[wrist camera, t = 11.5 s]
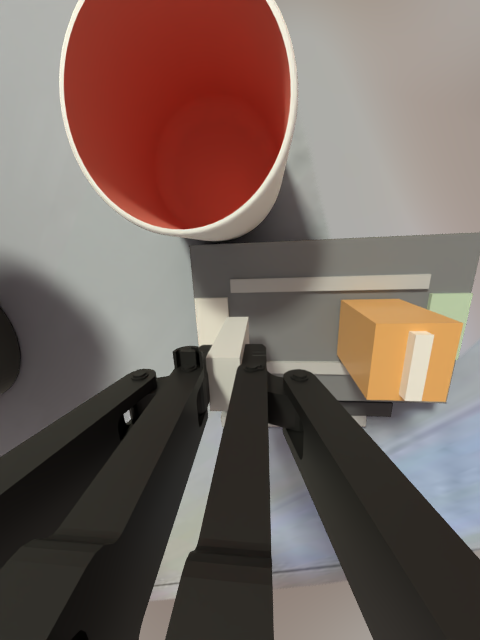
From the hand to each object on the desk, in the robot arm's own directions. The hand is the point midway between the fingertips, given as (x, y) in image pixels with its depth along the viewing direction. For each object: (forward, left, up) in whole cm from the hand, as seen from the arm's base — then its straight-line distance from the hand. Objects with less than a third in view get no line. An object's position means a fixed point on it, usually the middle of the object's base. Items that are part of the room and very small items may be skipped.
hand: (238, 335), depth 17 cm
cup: (-2, +11, -6) cm, 13 cm away
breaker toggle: (+9, 0, -2) cm, 10 cm away
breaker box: (+6, 0, -6) cm, 8 cm away
